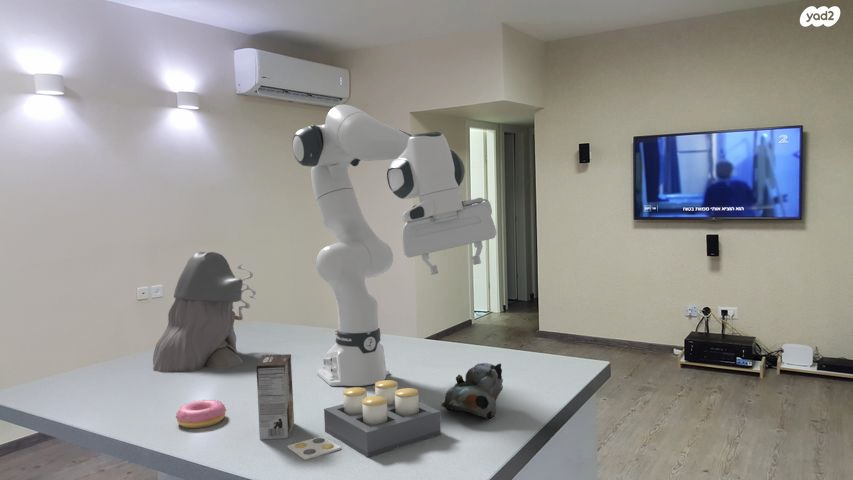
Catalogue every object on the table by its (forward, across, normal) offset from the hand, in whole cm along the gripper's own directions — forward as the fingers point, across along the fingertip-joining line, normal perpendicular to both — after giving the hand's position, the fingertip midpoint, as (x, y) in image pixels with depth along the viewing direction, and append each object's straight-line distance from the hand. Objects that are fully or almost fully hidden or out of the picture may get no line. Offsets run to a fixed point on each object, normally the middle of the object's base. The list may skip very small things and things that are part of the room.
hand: (456, 269), depth 131 cm
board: (+31, +23, -2) cm, 39 cm away
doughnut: (+23, +64, -17) cm, 70 cm away
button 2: (+27, +24, +4) cm, 36 cm away
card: (+29, +37, +4) cm, 47 cm away
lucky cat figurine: (+35, +2, -11) cm, 36 cm away
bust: (+16, +78, -78) cm, 111 cm away
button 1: (+26, +28, -3) cm, 38 cm away
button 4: (+28, +17, 0) cm, 33 cm away
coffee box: (+27, +46, -7) cm, 53 cm away
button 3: (+27, +21, -7) cm, 35 cm away
